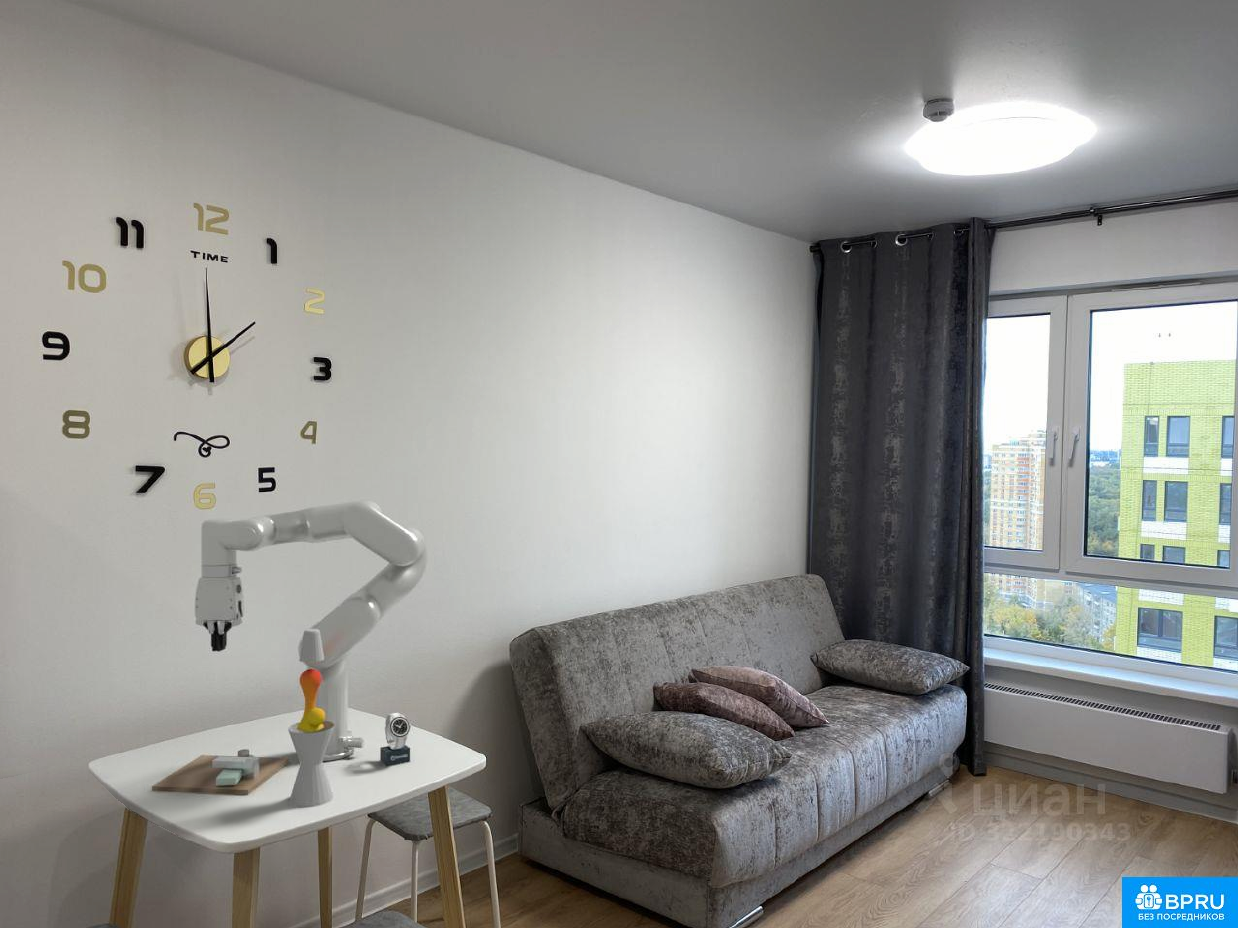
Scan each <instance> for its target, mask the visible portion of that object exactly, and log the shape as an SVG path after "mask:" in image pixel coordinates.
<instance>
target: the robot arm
mask: <svg viewBox="0 0 1238 928" xmlns="http://www.w3.org/2000/svg"><path fill="white" fill-rule="evenodd" d="M200 530H201V531H200V532H201V534H200V535H201V541H200V542H201V543H200V544H201V546H200V547H201V548H200V549H201V550H200V552H201V559H200V560H201V568H200V569H201V572H200V573H201V574H200V575H201V577H199V578H198V581H197V585H196V589H195V590H196V591H195V598H194V599H195V601H194V617H195V618H196V619H195V624H196V625H198V626H200V627H201V626H202V627H205V630H207V631H208V634H209V635H210V646H211V651H212V652H222V651H224V650H225V649H226V647H227V643H228V641H227V640H228V639H227V637H228V632H230V630H231V629H232V628H233V627H237V626H241V625H242V624H243V620H242V617H244V616H245V601H244V600H245V599H244V598H245V597H244V589H243V585H242V580H241V577H240V576H238V574H241V573H242V572H243V570H242V567H239V566H238V564H237V551H242V552H255V551H258V550H260V549H263V548H265V547H270V546H277V545H283V544H290V543H300V542H301V543H309V544H320V543H326V542H332V541H339V540H345V539H347V540H348V539H353V540H354V541H356V542H357V543H359V544H360V545H362V546H363V547H365V548H366V549H368V550H369V551H370V552H373V554H375V555H377V556H379V557H380V558H381V559H383V560H385V561H386V562H388V564H386V566H385V567H384V568H383V569H382V570H381V571H379V572H378V573H377V574H376V575H375V576H374V577H373V578H371V579H370V580H369V581H367V583H366V584H364V585H363V586H362V587H360V588H359V589H358V590H356V591H355V592H353V593H351V594H350V595H349V596H347V597H346V598H345V599H343V601H341V603H339V605H337V606H336V607H335V608H334V609H333V610H332V611H330V612H329V613H328V614H327V615H326V616H324V617H323V618H322V619H321V620H320V621H318V622H316V623H314V624H313V625H312V626H311V627H309V629H318V630H319V631H320V636H321V642H322V648H323V654H324V660H322V661H318V662H302V663H303V664H304V665H305V666H306V670H308V669H315V670H317V671H318V672H319V673H320V674H321V678H322V680H321V684H320V686H319V689H318V692H317V696H316V702H315V708H320V709H322V710H323V711H324V712H325V720H324V721H329V722H332V723H334V728H333V732H332V734H331V737H330V740H329V743H328V746H327V749H326V752H325V755H324V758H323V761H322V762H326V761H327V762H328V761H334V760H335V761H337V760H339V759H343V758H346V757H348V756H350V755H352V754H353V753H354V751H355V749H363V748H364V746H365V739H364V738H363V737H360V736H359V737H354V736H353V733H352V730H348V728H349V724H348V722H349V717H348V715H349V711H348V709H349V705H348V703H349V700H348V697H349V694H348V693H349V688H348V687H349V661H350V660H349V659H350V658H349V657H350V651H351V650H352V649H353V648H355V647H356V646H357V645H358V644H359V643H360V642H362V641H364V639H365V638H367V637H368V636H369V635H370V634H371V632H372V631H374V629H376V627H377V626H378V624H379V623H380V622H381V620H382V619H383V618H384V616H386V615H387V614H388V613H389V612H390V611H391V610H392V609H393V608H394V607H396V606H397V605H398V604H399V603H400V602H401V601H403V599H405V598H406V597H407V596H408V595H409V594H410V593H411V592H412V591H413V590H414V589H415V588H416V586H417V585H418V584H419V582H420V581H421V579H422V578H423V575H424V573H425V572H426V571H425V570H426V568H427V563H428V547H427V543H426V540H425V537H424V535H423V534H422V532H420V531H419V530H418V529H417V528H415V527H412V526H401V525H400V524H398V523H396V522H395V521H393V520H392V519H390V518H389V517H387V516H386V515H385V514H383V511H382V509H381V506H379V504H377V503H376V502H375V501H372V500H368V499H363V500H356V501H349V502H348V501H347V502H343V503H342V502H341V503H333V504H328V505H321V506H313V507H307V508H304V509H301V510H295V511H289V512H281V513H275V514H267V515H260V516H253V517H250V518H246V519H242V520H241V519H240V520H234V519H232V518H231V519H230V518H210V519H209V518H208V519H206V520H204V521H203V522H202V524H201V529H200ZM302 640H303V636H301V639H300V641H299V643H298V648H297V649H298V657H300V653H301V647H302Z"/></svg>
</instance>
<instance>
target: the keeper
mask: <svg viewBox="0 0 1238 928" xmlns="http://www.w3.org/2000/svg"><path fill="white" fill-rule="evenodd" d="M218 756H219V757H217V758H216V759H214V760H213V761H212V768H236V769H243V778H247V779H254V778H256V777H257V776H258V775H259V758H258V757H259V756H254V757H228V756H229V755H218Z"/></svg>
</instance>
